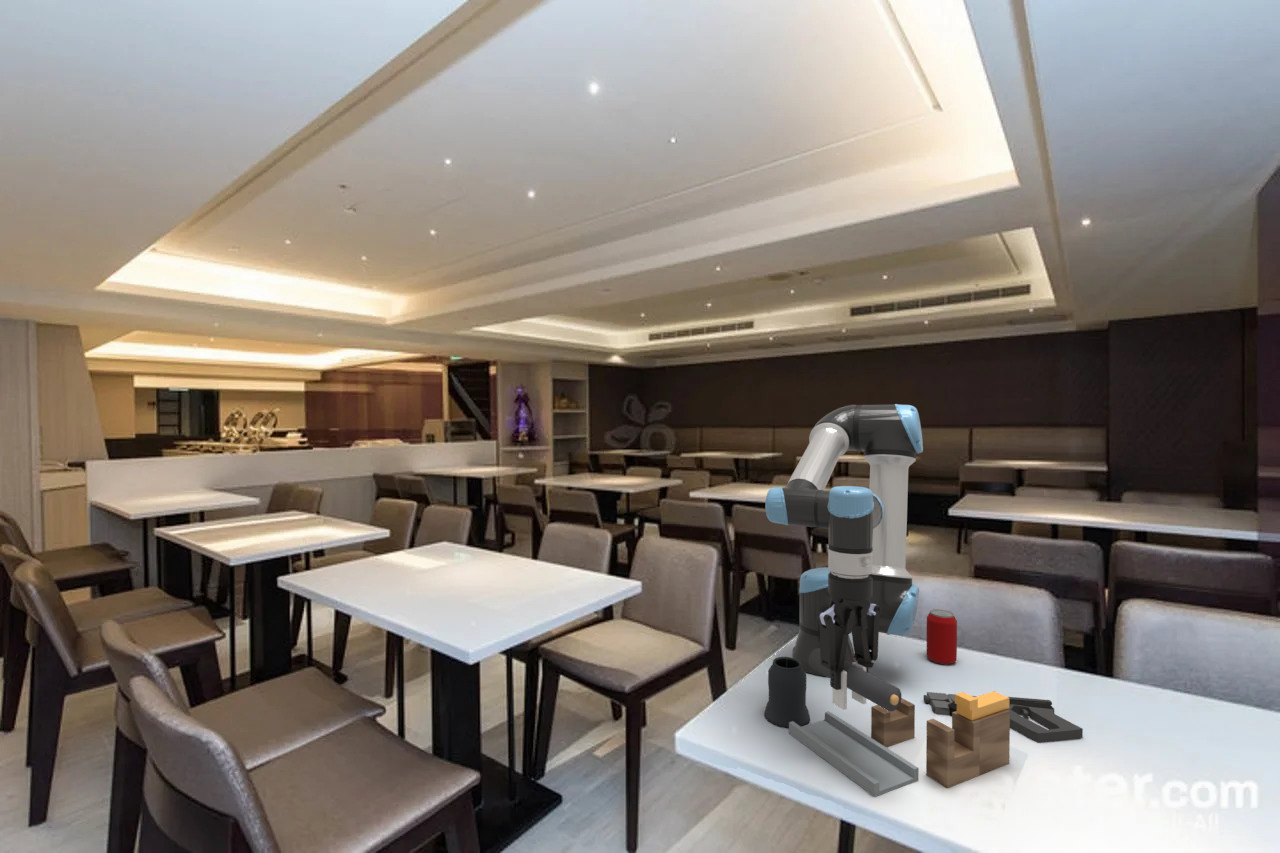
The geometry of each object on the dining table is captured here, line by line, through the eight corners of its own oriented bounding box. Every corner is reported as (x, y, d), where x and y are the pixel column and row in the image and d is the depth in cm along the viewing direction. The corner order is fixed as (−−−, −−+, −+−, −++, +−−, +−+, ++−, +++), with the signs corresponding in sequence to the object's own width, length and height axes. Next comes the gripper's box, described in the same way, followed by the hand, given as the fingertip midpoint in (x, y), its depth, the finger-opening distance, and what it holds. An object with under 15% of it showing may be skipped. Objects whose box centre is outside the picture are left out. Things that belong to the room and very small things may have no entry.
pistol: (1092, 738, 108) (1053, 699, 123) (941, 723, 114) (921, 688, 128) (1092, 750, 108) (1053, 710, 123) (941, 735, 114) (921, 698, 128)
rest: (871, 739, 111) (871, 706, 111) (901, 730, 115) (901, 697, 115) (883, 747, 109) (884, 713, 108) (914, 737, 112) (914, 704, 112)
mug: (811, 731, 114) (812, 674, 114) (763, 726, 116) (764, 669, 116) (807, 702, 126) (808, 649, 126) (764, 697, 128) (764, 646, 128)
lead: (806, 669, 113) (806, 649, 113) (822, 666, 115) (822, 645, 115) (886, 715, 96) (886, 690, 96) (903, 710, 98) (904, 686, 98)
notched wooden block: (926, 774, 100) (926, 720, 100) (987, 751, 107) (987, 701, 107) (947, 788, 97) (947, 732, 97) (1009, 763, 104) (1009, 710, 103)
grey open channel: (788, 733, 114) (788, 722, 114) (828, 721, 118) (828, 711, 118) (874, 796, 95) (874, 783, 95) (918, 780, 99) (918, 767, 99)
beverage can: (946, 654, 151) (946, 607, 151) (962, 665, 144) (963, 616, 144) (921, 655, 150) (921, 608, 150) (936, 666, 144) (936, 617, 143)
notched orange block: (954, 713, 102) (954, 694, 102) (993, 701, 107) (994, 682, 107) (969, 721, 100) (970, 701, 100) (1009, 707, 104) (1009, 688, 104)
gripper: (828, 584, 99) (827, 723, 99) (901, 573, 106) (900, 702, 106) (798, 573, 105) (797, 703, 106) (868, 563, 113) (868, 685, 113)
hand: (849, 702), depth 106 cm, fingers closed on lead, 4 cm apart
